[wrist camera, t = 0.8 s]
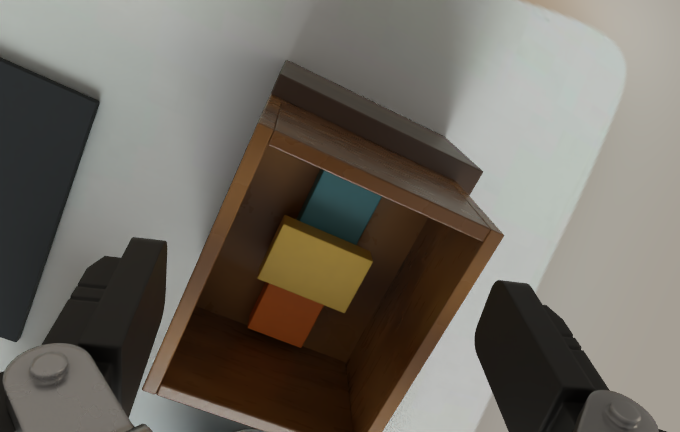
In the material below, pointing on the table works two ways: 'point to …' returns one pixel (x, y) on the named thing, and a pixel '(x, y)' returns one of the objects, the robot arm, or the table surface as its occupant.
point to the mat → (34, 179)
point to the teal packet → (338, 207)
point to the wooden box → (331, 325)
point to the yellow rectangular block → (314, 264)
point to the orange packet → (284, 315)
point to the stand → (375, 123)
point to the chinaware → (251, 430)
